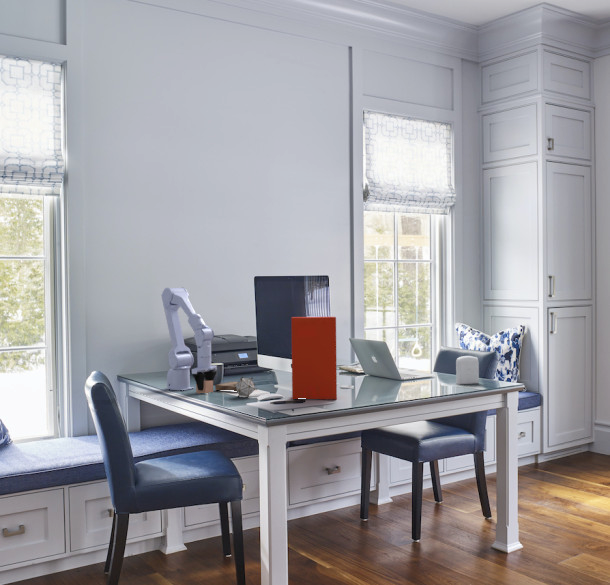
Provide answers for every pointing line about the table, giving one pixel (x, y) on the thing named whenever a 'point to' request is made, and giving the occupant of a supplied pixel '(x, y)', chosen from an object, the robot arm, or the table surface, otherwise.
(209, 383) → the cube
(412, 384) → the table surface
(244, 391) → the game die
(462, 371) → the grey smart speaker
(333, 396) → the file binder
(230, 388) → the plinth
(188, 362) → the robot arm
